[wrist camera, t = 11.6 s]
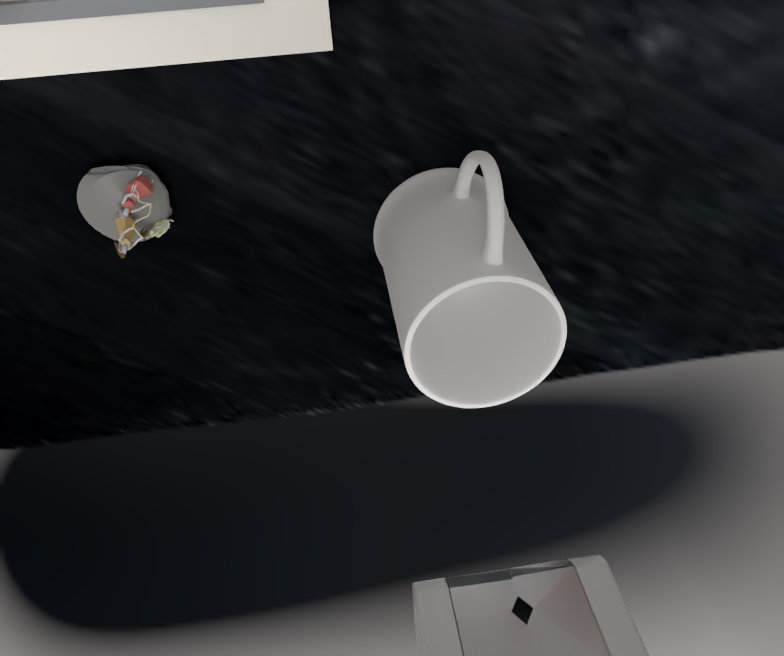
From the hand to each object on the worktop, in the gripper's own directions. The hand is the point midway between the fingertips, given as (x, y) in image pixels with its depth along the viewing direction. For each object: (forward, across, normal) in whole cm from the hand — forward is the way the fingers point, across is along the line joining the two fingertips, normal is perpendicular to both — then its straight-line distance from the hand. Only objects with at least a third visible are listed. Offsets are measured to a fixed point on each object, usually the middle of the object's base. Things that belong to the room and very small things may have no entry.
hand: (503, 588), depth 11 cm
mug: (+31, -5, +9) cm, 33 cm away
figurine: (+31, +13, +6) cm, 34 cm away
